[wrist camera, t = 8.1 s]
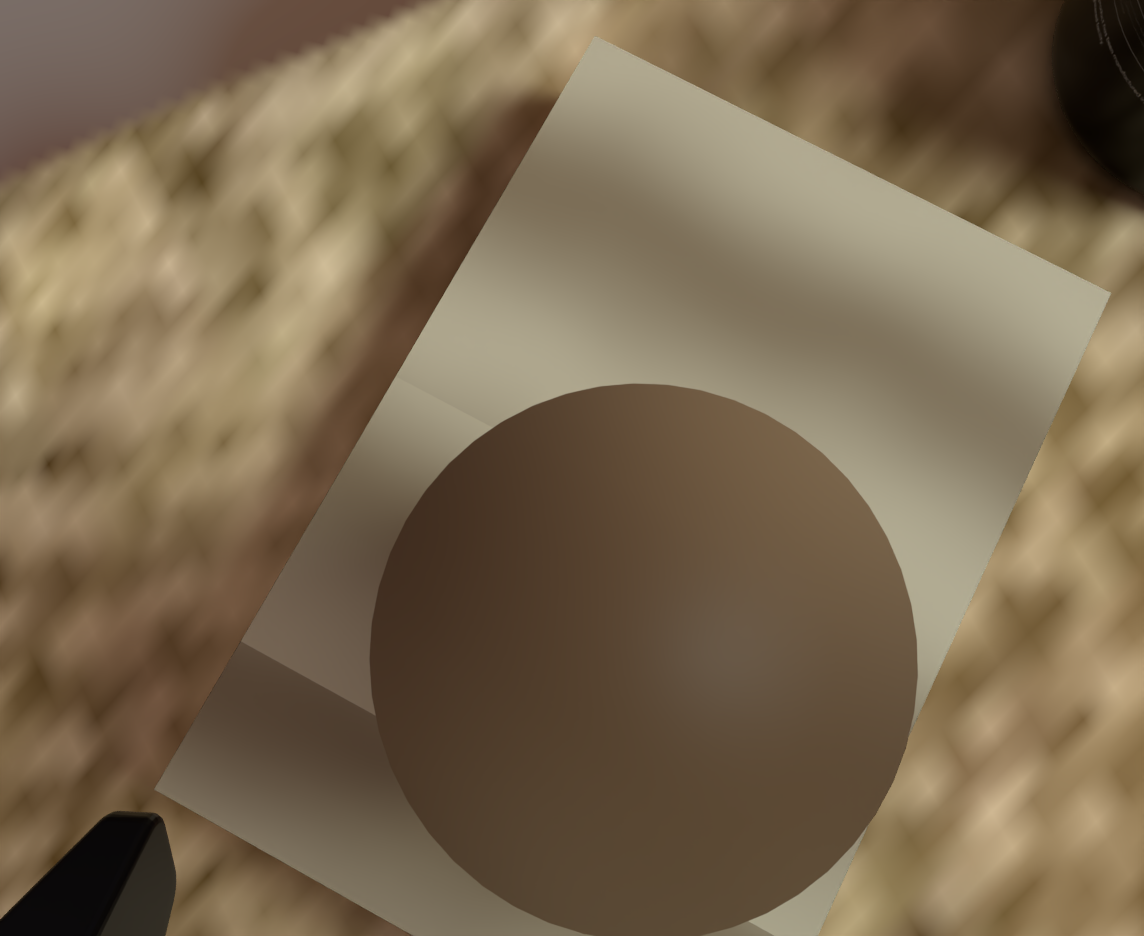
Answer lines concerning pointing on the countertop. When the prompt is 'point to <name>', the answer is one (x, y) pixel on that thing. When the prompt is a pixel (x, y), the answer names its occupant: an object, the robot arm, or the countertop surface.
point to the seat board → (645, 356)
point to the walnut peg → (643, 661)
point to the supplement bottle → (1104, 81)
